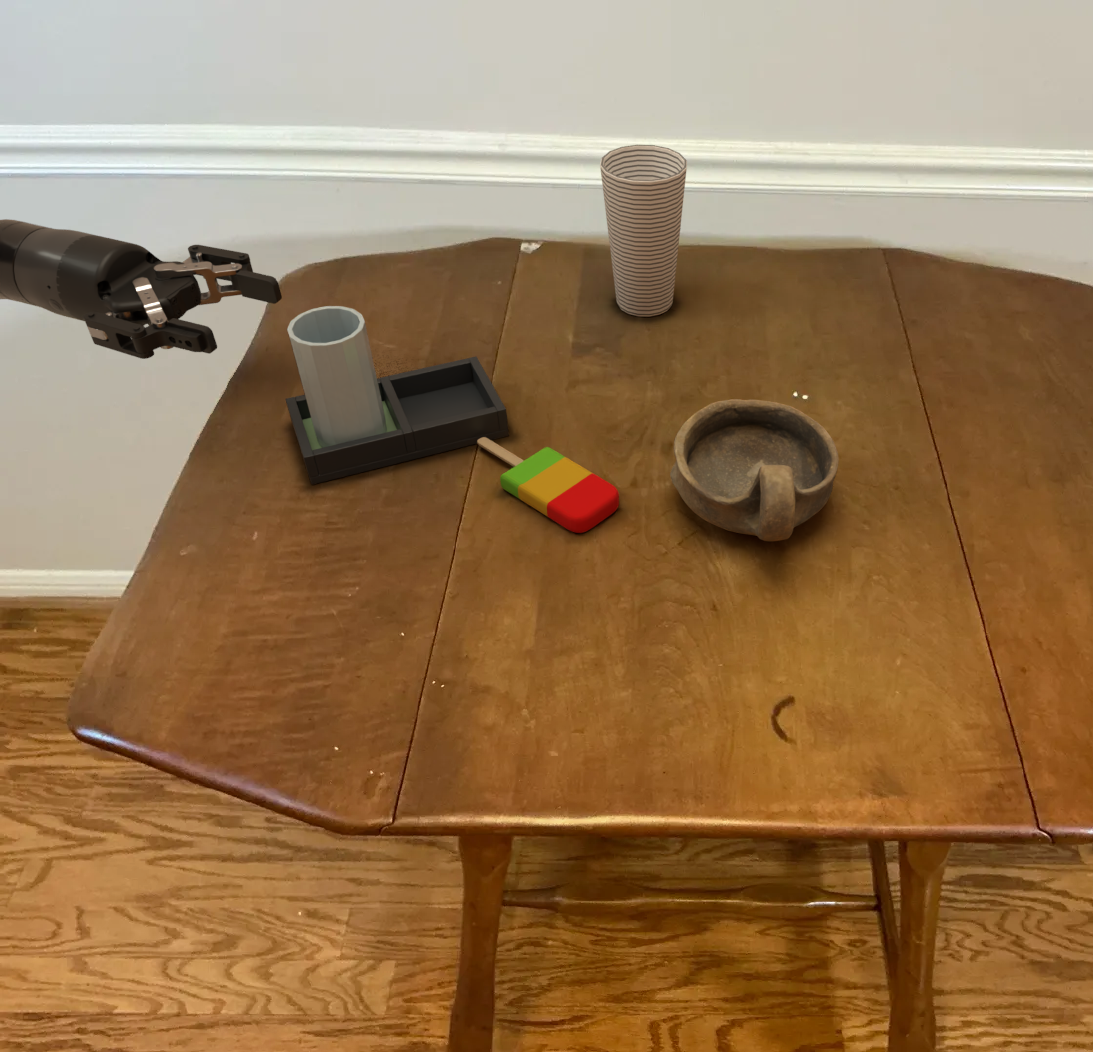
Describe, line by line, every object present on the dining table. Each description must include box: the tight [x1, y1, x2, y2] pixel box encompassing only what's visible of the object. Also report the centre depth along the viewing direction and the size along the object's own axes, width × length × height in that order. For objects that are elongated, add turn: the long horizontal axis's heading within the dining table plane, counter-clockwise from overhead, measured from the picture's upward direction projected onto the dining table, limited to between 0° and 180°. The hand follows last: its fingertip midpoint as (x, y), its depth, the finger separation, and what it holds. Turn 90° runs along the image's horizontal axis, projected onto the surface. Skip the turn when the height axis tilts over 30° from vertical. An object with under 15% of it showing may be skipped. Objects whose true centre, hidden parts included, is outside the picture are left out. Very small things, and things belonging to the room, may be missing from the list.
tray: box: [285, 355, 510, 485], centre depth 96 cm, size 17×9×3 cm, turn 115°
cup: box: [599, 144, 688, 317], centre depth 109 cm, size 8×8×16 cm
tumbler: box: [286, 305, 387, 447], centre depth 91 cm, size 6×6×11 cm
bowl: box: [669, 398, 840, 542], centre depth 86 cm, size 14×18×10 cm
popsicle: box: [477, 437, 620, 534], centre depth 91 cm, size 6×15×2 cm, turn 50°
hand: (246, 315), depth 90 cm, fingers open, 8 cm apart
